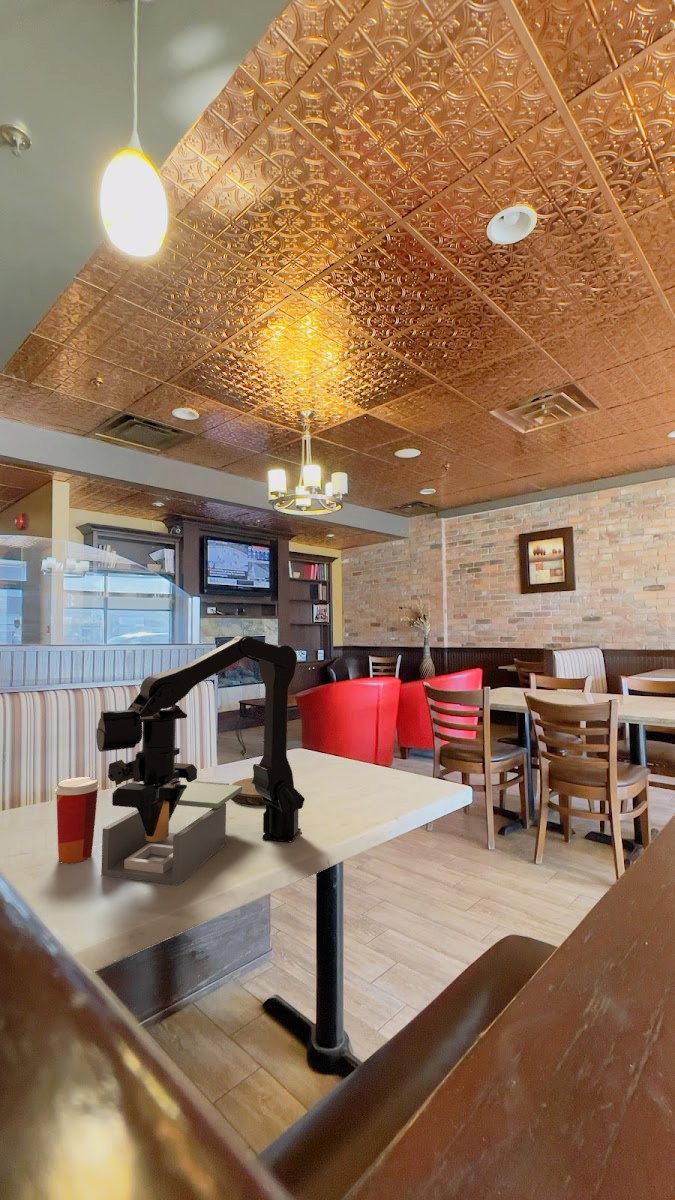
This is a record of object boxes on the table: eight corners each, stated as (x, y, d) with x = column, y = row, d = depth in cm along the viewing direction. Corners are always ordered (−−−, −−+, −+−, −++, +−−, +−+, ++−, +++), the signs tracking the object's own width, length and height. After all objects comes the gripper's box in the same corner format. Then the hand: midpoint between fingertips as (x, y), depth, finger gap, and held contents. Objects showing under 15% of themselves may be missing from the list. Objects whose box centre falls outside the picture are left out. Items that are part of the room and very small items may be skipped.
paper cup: (85, 845, 107) (88, 774, 107) (105, 856, 102) (107, 781, 103) (44, 858, 101) (46, 782, 101) (62, 870, 96) (65, 790, 97)
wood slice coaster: (218, 796, 140) (218, 784, 140) (269, 784, 150) (269, 773, 151) (252, 811, 128) (252, 799, 128) (304, 798, 139) (305, 786, 139)
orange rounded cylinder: (172, 834, 99) (173, 801, 99) (160, 842, 95) (161, 808, 95) (153, 832, 100) (154, 799, 100) (140, 840, 96) (141, 806, 96)
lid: (243, 798, 117) (243, 784, 117) (216, 819, 105) (217, 803, 105) (181, 793, 121) (181, 779, 121) (148, 812, 108) (148, 797, 108)
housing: (225, 843, 108) (226, 803, 109) (178, 885, 91) (179, 836, 91) (158, 836, 112) (159, 797, 112) (101, 875, 94) (102, 828, 95)
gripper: (149, 732, 109) (147, 811, 109) (85, 753, 91) (83, 847, 90) (199, 735, 107) (197, 815, 106) (144, 757, 89) (141, 854, 88)
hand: (157, 831), depth 98 cm, fingers closed on orange rounded cylinder, 4 cm apart
